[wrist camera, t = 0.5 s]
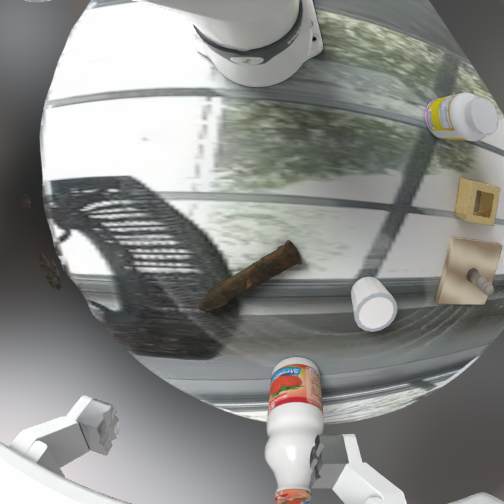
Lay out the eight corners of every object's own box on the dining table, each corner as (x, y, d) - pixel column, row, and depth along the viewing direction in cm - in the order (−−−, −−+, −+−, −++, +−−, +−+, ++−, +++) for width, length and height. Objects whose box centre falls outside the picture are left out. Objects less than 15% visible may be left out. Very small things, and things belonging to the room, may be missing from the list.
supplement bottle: (463, 119, 37) (510, 118, 25) (444, 147, 39) (489, 154, 27) (436, 90, 36) (479, 79, 24) (415, 118, 38) (457, 114, 26)
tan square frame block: (460, 177, 40) (472, 181, 36) (487, 183, 40) (500, 188, 36) (454, 215, 42) (466, 221, 39) (481, 219, 42) (493, 226, 38)
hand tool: (290, 235, 47) (290, 245, 43) (302, 256, 48) (304, 268, 44) (193, 287, 53) (185, 300, 48) (206, 305, 54) (199, 319, 49)
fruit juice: (301, 395, 59) (299, 514, 33) (262, 377, 58) (245, 502, 32) (329, 367, 55) (342, 495, 29) (289, 347, 54) (283, 483, 28)
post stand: (451, 236, 44) (475, 254, 36) (498, 243, 43) (523, 260, 35) (434, 299, 48) (453, 324, 40) (481, 300, 47) (502, 323, 39)
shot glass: (359, 266, 48) (369, 286, 41) (392, 281, 48) (405, 302, 41) (339, 301, 50) (346, 324, 44) (372, 314, 50) (382, 337, 44)
